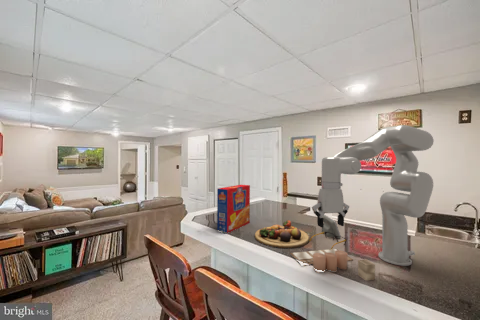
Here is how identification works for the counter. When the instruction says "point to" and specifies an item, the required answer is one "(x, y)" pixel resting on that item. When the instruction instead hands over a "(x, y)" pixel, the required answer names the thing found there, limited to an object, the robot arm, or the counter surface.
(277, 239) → the wooden plate with food
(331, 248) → the eyeglasses
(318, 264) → the tan short cylinder
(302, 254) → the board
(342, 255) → the tan short cylinder
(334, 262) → the tan short cylinder
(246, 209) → the pasta box
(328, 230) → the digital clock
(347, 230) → the counter surface
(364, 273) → the beige block
